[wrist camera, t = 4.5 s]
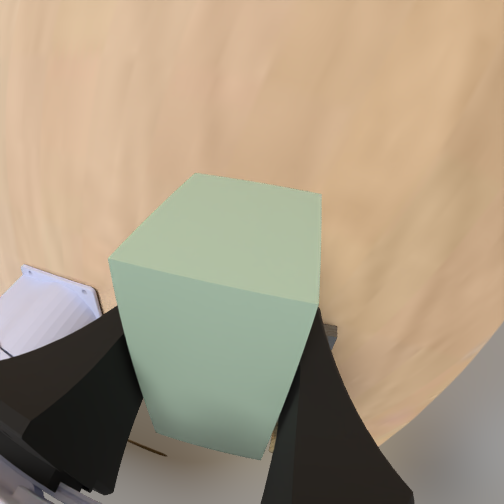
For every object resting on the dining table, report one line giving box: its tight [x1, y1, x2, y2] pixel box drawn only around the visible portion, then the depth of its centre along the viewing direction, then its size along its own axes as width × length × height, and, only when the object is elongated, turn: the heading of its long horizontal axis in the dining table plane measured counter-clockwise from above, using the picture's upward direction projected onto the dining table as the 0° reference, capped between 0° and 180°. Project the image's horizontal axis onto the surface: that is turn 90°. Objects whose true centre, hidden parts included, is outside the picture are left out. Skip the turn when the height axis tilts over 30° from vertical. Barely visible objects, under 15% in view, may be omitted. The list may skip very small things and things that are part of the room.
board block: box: [108, 173, 321, 460], centre depth 10 cm, size 4×8×5 cm, turn 174°
